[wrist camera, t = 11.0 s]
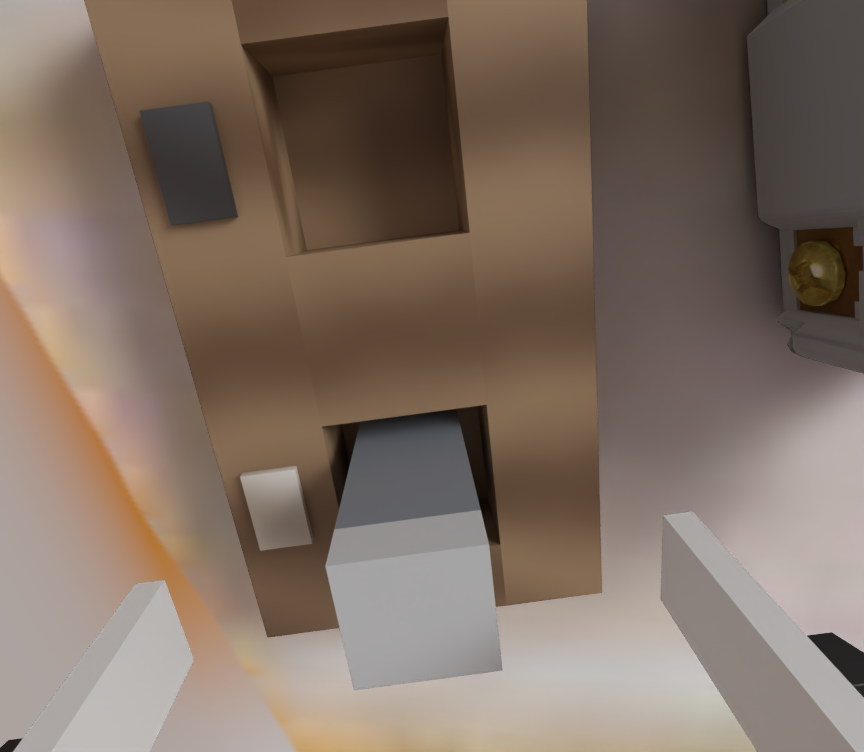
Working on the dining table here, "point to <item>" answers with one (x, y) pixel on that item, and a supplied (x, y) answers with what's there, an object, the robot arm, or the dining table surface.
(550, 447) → the socket board
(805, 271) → the electrical outlet
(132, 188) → the dining table surface
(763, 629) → the robot arm
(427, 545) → the plug
